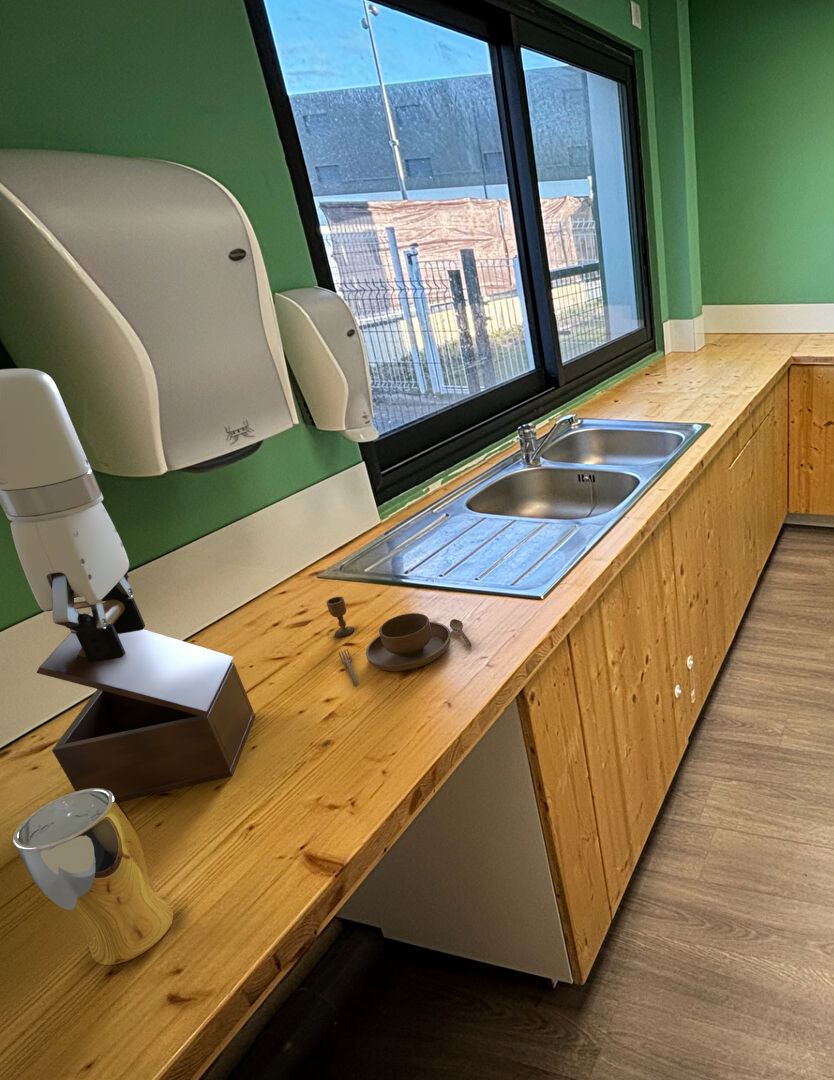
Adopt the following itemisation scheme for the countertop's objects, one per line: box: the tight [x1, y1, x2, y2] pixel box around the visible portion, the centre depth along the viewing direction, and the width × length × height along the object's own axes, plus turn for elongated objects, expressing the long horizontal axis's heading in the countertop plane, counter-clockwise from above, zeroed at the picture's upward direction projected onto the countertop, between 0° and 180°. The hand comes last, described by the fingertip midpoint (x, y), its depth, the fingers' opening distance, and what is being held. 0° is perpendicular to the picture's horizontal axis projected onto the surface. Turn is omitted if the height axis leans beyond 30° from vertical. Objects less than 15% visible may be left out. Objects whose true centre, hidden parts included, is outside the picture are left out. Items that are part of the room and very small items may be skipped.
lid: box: [36, 600, 235, 717], centre depth 80 cm, size 15×12×6 cm
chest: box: [51, 661, 256, 803], centre depth 84 cm, size 15×12×9 cm
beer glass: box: [12, 788, 174, 966], centre depth 62 cm, size 7×7×15 cm
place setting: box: [325, 596, 473, 686], centre depth 108 cm, size 18×20×6 cm
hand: (118, 643), depth 79 cm, fingers closed on lid, 5 cm apart
